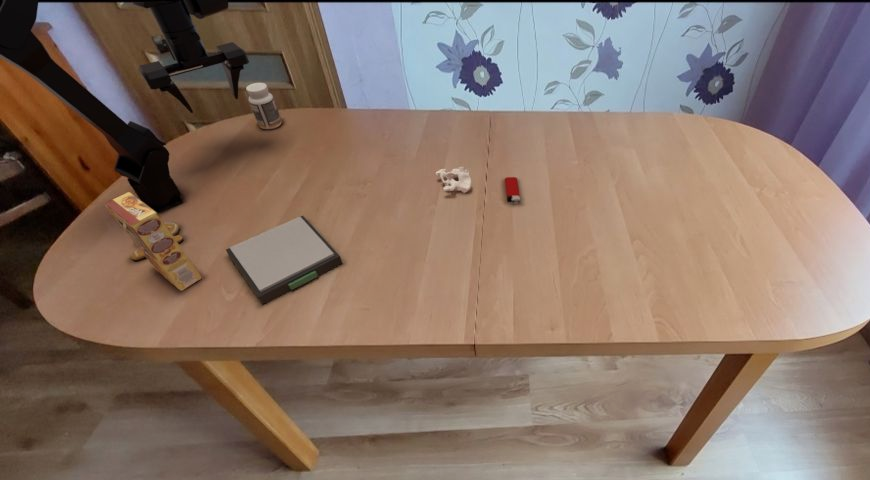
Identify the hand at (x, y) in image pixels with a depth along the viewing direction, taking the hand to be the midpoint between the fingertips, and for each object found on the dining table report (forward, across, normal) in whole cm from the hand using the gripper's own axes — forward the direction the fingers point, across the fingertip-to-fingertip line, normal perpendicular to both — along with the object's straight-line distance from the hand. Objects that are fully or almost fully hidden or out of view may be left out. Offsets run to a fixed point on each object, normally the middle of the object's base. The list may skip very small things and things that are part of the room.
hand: (214, 105), depth 99 cm
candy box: (+13, +22, +30) cm, 40 cm away
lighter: (+14, -40, +51) cm, 66 cm away
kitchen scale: (+13, +6, +39) cm, 42 cm away
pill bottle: (+14, -12, -10) cm, 20 cm away
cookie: (+13, +22, +19) cm, 32 cm away
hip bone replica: (+14, -32, +41) cm, 54 cm away
